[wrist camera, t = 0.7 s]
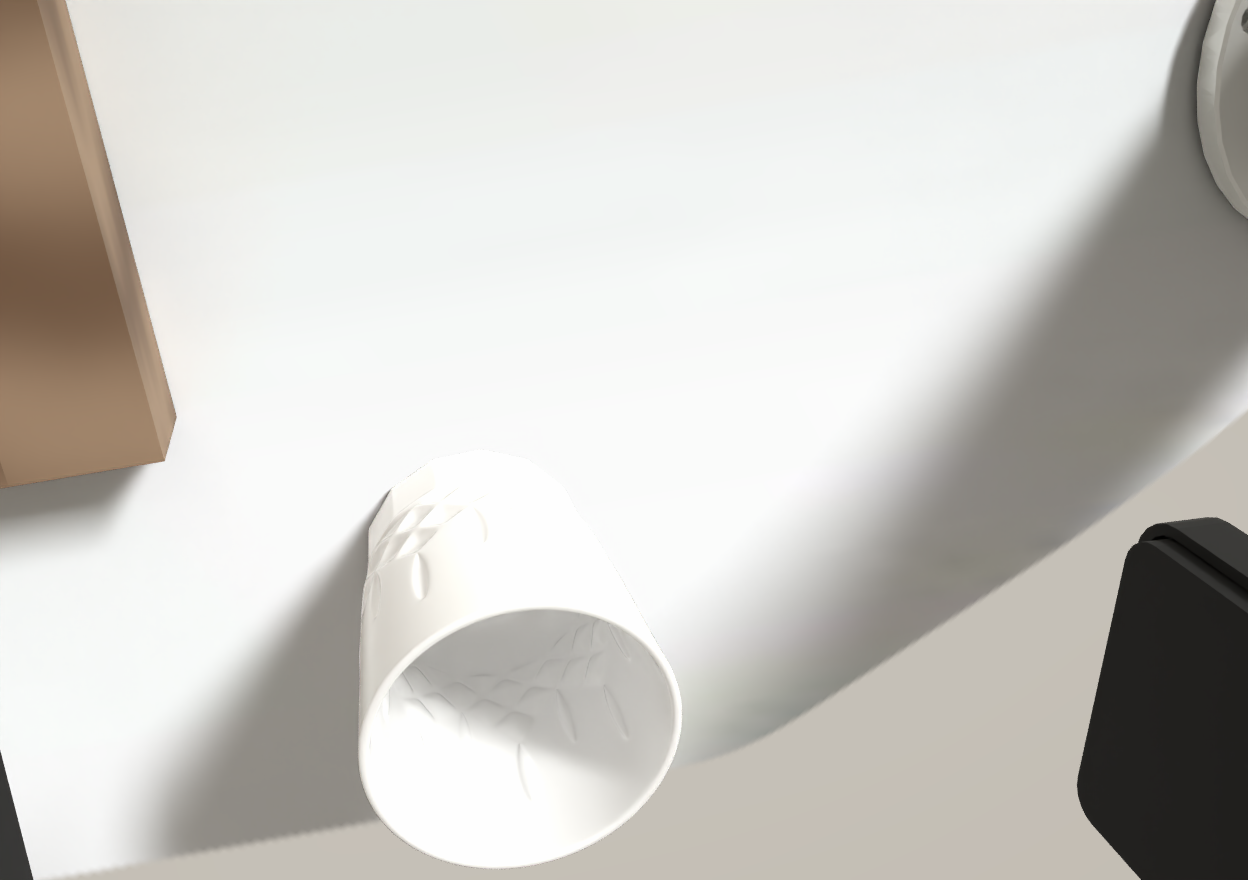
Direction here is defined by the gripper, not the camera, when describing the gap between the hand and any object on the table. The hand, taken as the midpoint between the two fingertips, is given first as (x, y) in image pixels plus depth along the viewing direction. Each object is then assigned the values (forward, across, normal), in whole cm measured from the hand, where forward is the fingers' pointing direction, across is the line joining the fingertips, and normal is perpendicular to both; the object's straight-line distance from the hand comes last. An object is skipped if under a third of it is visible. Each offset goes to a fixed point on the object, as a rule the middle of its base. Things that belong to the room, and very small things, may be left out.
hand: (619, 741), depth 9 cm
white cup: (+25, -2, +12) cm, 28 cm away
